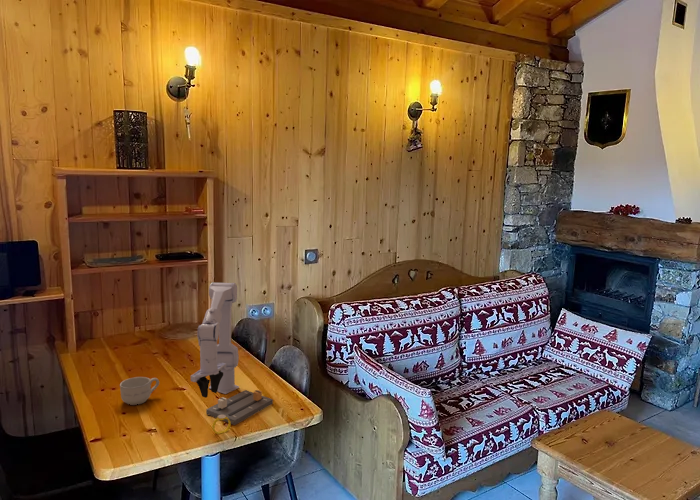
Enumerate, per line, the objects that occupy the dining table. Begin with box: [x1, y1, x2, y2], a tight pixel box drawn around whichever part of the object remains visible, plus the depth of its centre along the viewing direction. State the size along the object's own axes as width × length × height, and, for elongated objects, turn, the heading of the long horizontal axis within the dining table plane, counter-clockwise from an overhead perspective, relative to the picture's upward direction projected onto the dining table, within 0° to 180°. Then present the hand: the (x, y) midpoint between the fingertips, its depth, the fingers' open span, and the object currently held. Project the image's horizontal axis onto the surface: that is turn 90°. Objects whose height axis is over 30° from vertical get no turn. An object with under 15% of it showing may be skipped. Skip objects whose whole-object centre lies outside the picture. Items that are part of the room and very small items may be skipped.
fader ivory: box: [217, 397, 228, 409], centre depth 188 cm, size 2×2×3 cm
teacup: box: [119, 376, 160, 406], centre depth 196 cm, size 14×11×8 cm
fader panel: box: [205, 389, 274, 426], centre depth 192 cm, size 14×20×2 cm
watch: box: [211, 415, 232, 435], centre depth 175 cm, size 6×3×6 cm, turn 122°
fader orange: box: [253, 389, 263, 401], centre depth 195 cm, size 2×2×3 cm
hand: (209, 394), depth 183 cm, fingers open, 4 cm apart
